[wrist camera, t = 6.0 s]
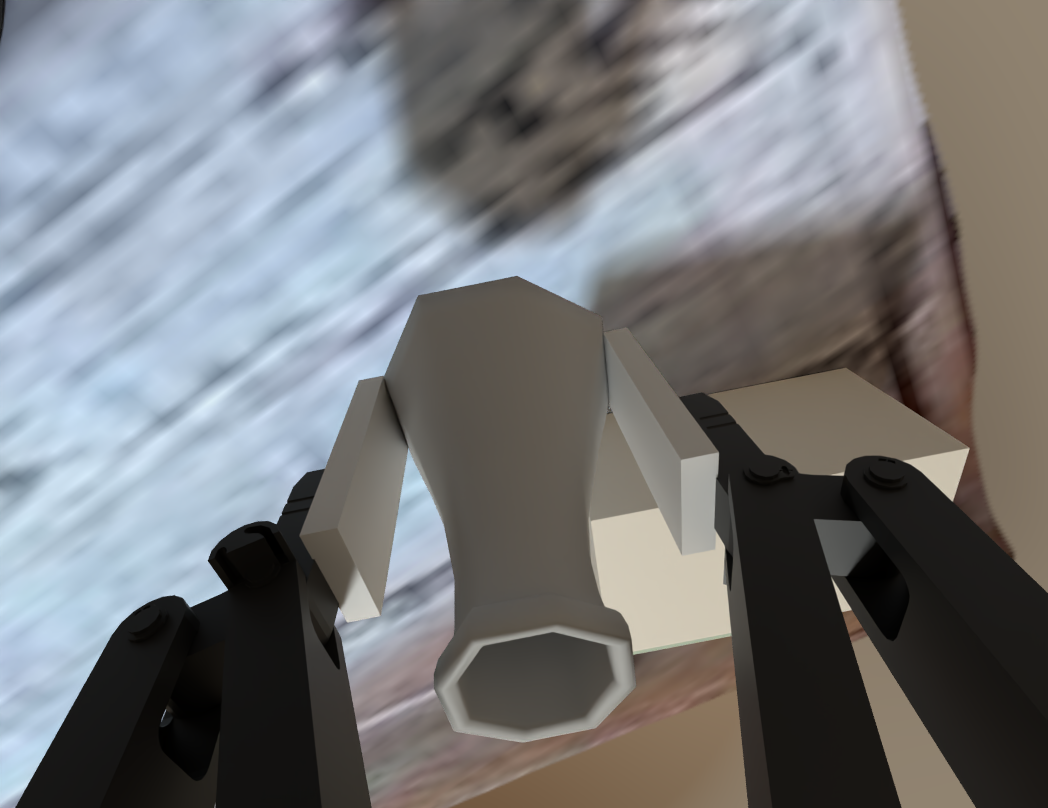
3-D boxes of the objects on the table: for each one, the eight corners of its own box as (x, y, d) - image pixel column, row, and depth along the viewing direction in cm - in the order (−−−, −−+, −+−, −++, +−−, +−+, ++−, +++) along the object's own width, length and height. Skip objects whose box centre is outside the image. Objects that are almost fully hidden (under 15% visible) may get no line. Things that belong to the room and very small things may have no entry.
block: (561, 422, 25) (590, 520, 19) (845, 367, 25) (969, 448, 18) (580, 542, 29) (609, 656, 22) (826, 495, 28) (922, 596, 22)
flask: (382, 466, 18) (305, 810, 9) (387, 257, 14) (265, 497, 5) (584, 478, 19) (685, 793, 10) (635, 288, 15) (855, 525, 7)
